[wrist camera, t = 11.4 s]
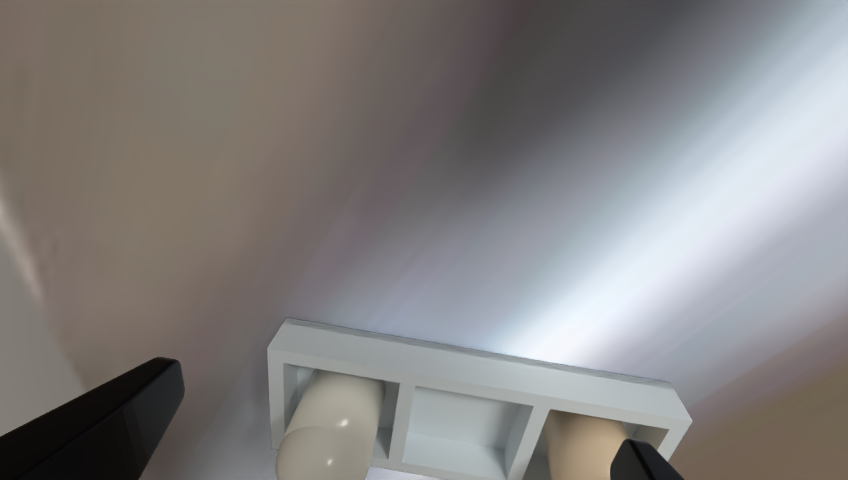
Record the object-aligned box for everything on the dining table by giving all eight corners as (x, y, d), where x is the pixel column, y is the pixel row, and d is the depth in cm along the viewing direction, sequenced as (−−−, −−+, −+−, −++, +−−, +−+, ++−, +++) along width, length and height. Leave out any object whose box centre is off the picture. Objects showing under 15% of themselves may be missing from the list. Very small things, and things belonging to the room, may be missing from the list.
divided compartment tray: (670, 382, 22) (692, 421, 20) (620, 471, 26) (635, 512, 24) (286, 317, 23) (267, 348, 21) (287, 413, 26) (271, 448, 24)
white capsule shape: (389, 364, 23) (362, 481, 17) (382, 418, 25) (355, 542, 19) (311, 351, 23) (256, 463, 17) (310, 406, 25) (260, 525, 19)
